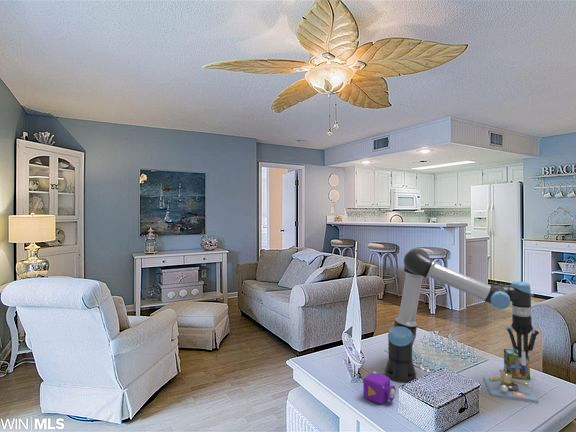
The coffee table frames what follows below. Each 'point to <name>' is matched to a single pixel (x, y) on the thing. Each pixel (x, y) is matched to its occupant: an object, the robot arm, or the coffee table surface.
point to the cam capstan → (508, 381)
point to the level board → (510, 391)
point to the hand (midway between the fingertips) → (523, 364)
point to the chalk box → (515, 364)
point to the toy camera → (378, 388)
